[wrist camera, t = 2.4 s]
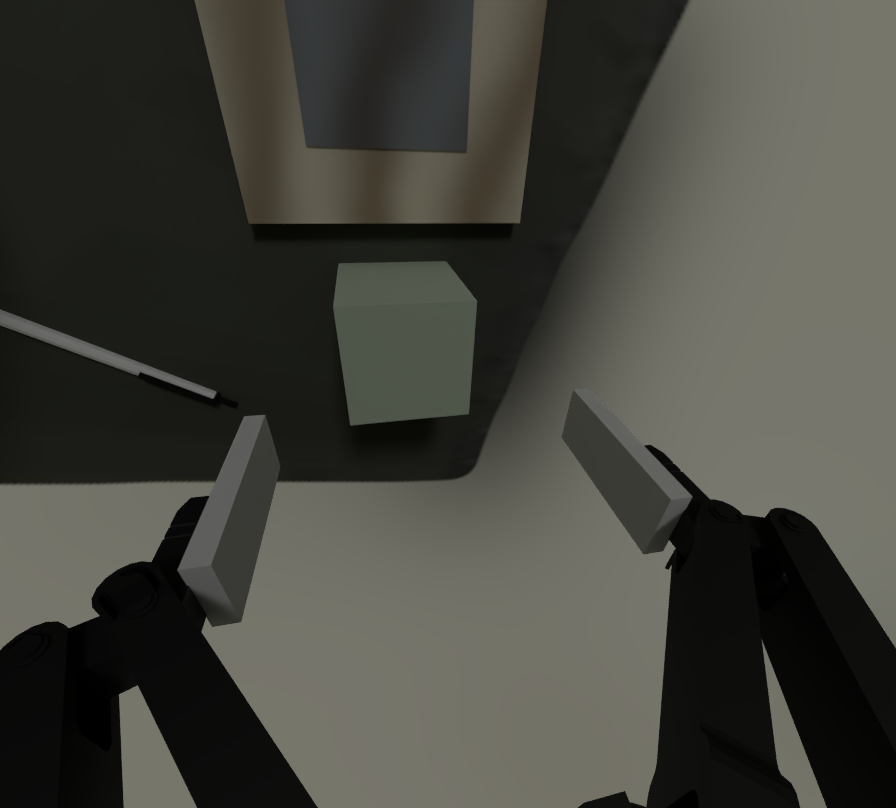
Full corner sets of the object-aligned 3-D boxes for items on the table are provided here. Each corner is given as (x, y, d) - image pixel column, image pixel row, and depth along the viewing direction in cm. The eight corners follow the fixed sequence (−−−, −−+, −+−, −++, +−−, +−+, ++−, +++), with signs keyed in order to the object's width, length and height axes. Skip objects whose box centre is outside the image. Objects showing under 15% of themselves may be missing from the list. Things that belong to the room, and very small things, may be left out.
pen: (235, 406, 29) (231, 414, 28) (-151, 262, 20) (-176, 268, 19) (239, 397, 28) (235, 406, 27) (-151, 247, 19) (-176, 253, 19)
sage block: (351, 360, 28) (350, 425, 22) (338, 263, 24) (333, 307, 18) (443, 354, 30) (468, 414, 23) (445, 261, 26) (476, 301, 19)
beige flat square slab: (252, 220, 22) (248, 224, 21) (131, -291, 13) (115, -323, 12) (514, 220, 25) (520, 223, 24) (562, -199, 16) (574, -219, 15)
